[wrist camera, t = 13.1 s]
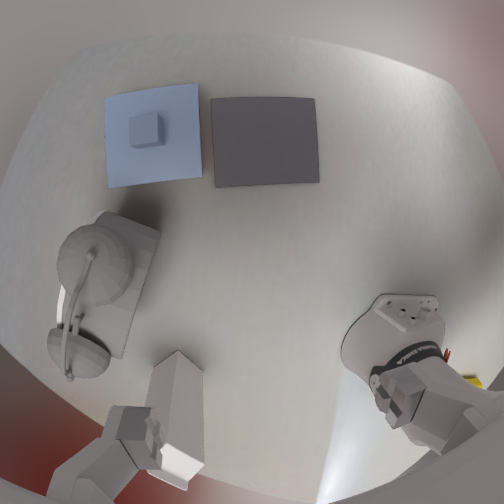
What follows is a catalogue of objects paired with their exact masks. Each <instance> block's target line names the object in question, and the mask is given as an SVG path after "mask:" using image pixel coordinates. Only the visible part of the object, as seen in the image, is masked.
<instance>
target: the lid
mask: <svg viewBox="0 0 504 504" xmlns="http://www.w3.org/2000/svg"><path fill="white" fill-rule="evenodd" d="M105 151H106V169H107V182H108V189H110V188H117V187H123V186H130V185H137V184H145V183H153V182H161V181H169V180H178V179H188V178H199V177H203V174H202V158H201V141H200V121H199V95H198V83H192V84H182V85H173V86H166V87H159V88H152V89H146V90H140V91H134V92H129V93H124V94H119V95H115V96H110V97H106V98H105Z"/></svg>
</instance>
